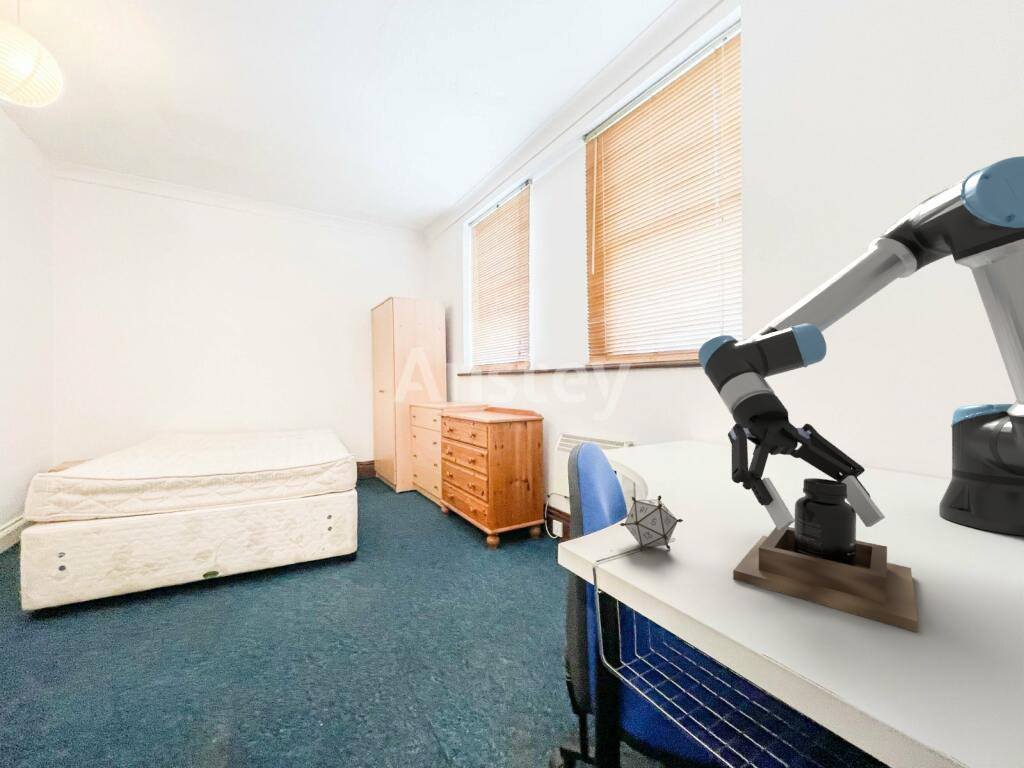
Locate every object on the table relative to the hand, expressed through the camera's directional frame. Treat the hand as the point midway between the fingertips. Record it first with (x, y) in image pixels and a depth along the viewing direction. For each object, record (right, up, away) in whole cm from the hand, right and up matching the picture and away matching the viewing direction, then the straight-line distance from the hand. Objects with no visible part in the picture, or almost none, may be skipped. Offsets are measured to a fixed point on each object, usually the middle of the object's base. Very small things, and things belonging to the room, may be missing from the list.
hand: (832, 524), depth 56 cm
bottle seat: (0, -8, +1) cm, 8 cm away
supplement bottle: (0, -7, +1) cm, 7 cm away
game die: (-21, -8, +12) cm, 25 cm away
